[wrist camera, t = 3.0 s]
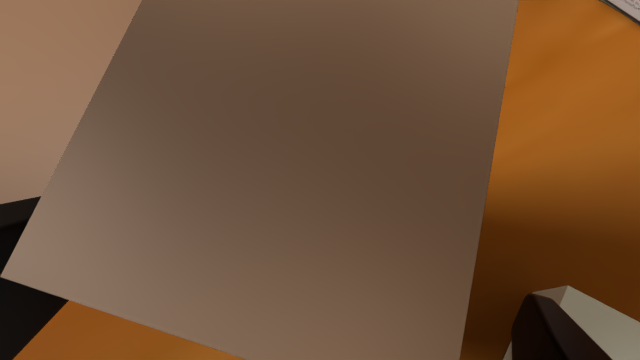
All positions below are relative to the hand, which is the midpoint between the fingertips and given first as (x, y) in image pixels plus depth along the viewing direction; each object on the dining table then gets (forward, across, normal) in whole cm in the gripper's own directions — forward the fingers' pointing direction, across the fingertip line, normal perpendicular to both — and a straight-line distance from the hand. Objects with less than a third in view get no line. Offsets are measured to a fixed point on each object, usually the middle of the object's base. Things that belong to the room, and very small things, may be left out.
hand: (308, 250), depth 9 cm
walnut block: (+6, 0, +6) cm, 8 cm away
